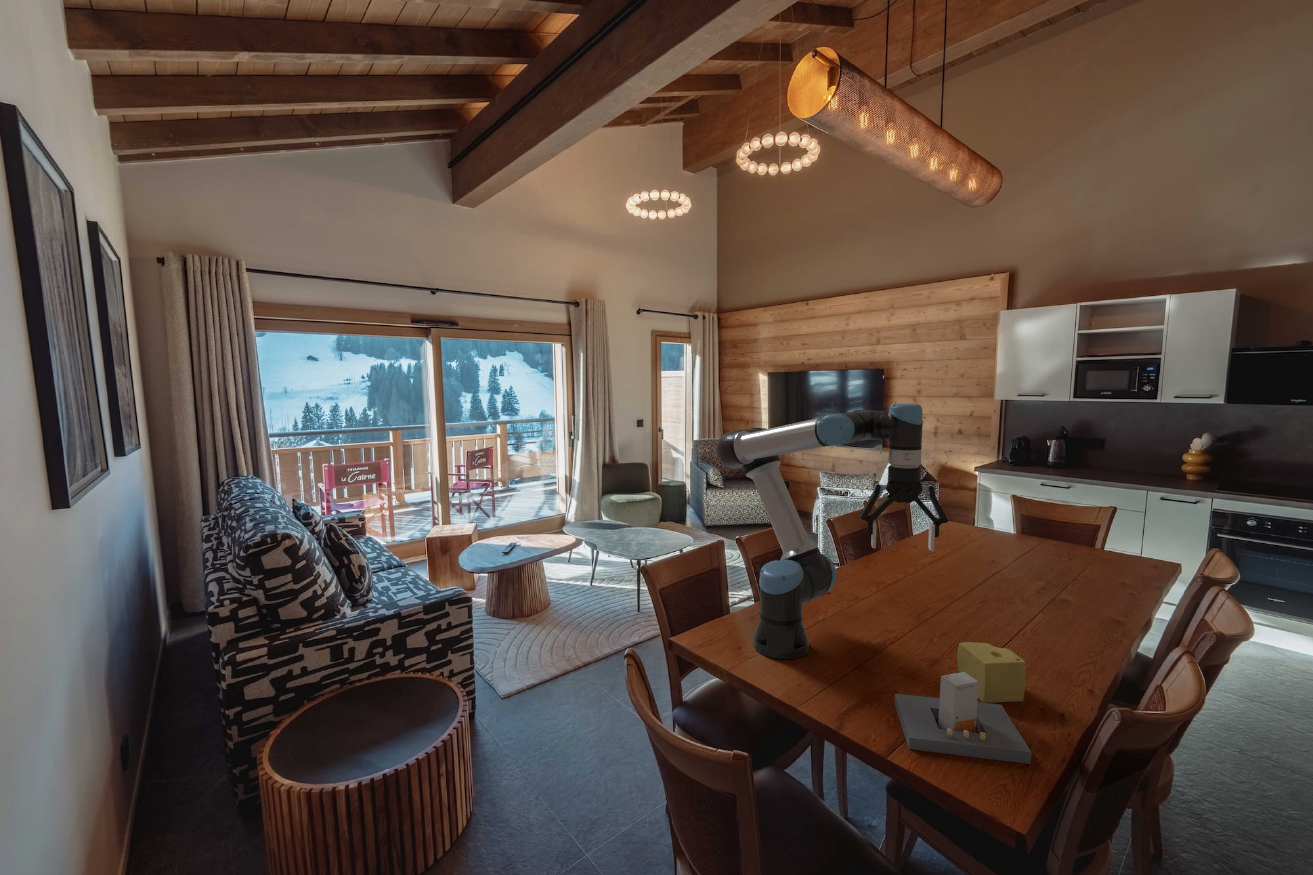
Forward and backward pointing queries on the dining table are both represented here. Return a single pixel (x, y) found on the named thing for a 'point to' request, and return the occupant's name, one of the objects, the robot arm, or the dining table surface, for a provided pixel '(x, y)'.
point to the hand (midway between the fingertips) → (901, 548)
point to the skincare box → (958, 702)
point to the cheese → (993, 671)
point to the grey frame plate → (990, 743)
